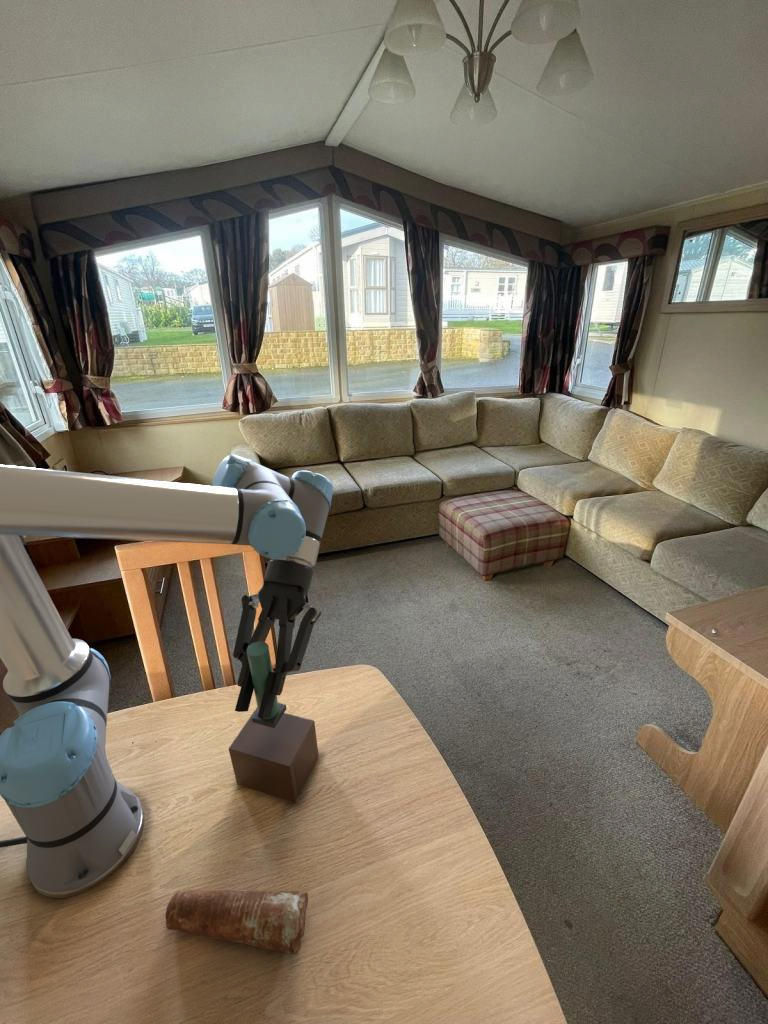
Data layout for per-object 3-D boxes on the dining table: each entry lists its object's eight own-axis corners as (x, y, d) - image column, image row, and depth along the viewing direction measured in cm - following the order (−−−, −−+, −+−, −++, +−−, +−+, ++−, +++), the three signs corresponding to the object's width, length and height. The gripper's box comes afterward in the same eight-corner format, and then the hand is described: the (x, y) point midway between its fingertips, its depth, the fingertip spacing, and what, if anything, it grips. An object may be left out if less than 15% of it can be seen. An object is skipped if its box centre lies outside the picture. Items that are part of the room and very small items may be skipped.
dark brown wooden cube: (237, 785, 81) (228, 748, 78) (264, 740, 89) (257, 705, 85) (295, 803, 78) (289, 766, 74) (318, 756, 86) (314, 720, 82)
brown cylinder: (302, 965, 60) (297, 942, 57) (160, 939, 63) (150, 916, 60) (316, 906, 65) (312, 883, 63) (185, 884, 68) (177, 861, 66)
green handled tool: (252, 722, 77) (238, 655, 71) (265, 703, 80) (253, 637, 74) (274, 728, 76) (262, 660, 70) (286, 708, 79) (276, 642, 73)
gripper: (237, 550, 78) (192, 702, 72) (329, 565, 74) (290, 728, 67) (259, 561, 85) (220, 701, 78) (345, 575, 81) (311, 725, 74)
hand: (252, 713), depth 73 cm, fingers closed on green handled tool, 3 cm apart
